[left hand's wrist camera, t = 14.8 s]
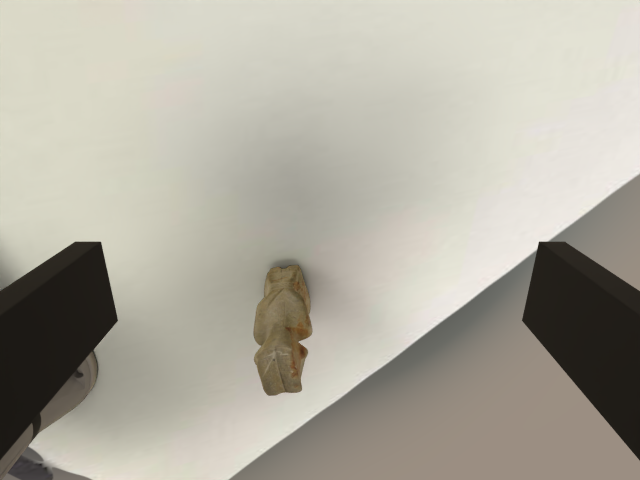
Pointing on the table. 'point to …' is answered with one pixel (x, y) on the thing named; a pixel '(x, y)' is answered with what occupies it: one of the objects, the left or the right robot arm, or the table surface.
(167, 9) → the table surface
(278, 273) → the sculpture
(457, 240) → the table surface
